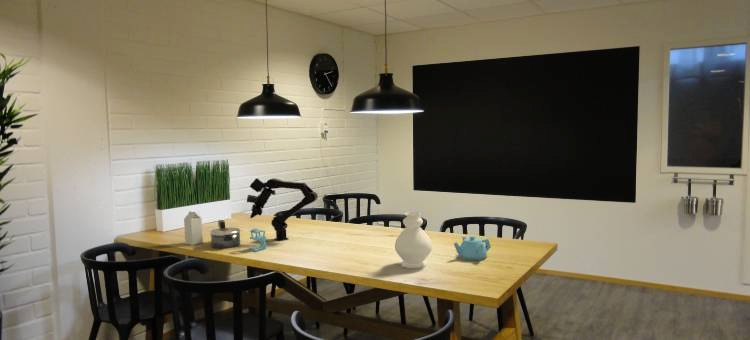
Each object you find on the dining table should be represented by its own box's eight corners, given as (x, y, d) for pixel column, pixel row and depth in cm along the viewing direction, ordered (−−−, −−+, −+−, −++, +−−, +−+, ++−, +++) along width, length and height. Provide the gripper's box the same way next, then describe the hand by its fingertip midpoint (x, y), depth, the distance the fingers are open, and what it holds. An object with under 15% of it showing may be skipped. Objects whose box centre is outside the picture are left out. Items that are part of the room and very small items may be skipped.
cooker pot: (243, 247, 300) (242, 235, 299) (214, 251, 293) (213, 238, 293) (235, 238, 323) (235, 227, 323) (208, 242, 317) (207, 230, 316)
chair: (268, 249, 294) (268, 228, 293) (255, 252, 288) (255, 230, 287) (261, 247, 299) (260, 226, 298) (248, 249, 294) (247, 228, 293)
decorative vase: (440, 265, 252) (439, 213, 250) (411, 271, 242) (410, 217, 240) (416, 257, 267) (415, 208, 264) (387, 264, 256) (386, 213, 254)
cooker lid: (242, 233, 302) (242, 225, 301) (212, 237, 295) (212, 228, 294) (234, 227, 323) (234, 218, 322) (206, 230, 316) (206, 221, 315)
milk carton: (192, 245, 309) (190, 213, 307) (185, 243, 313) (183, 212, 312) (202, 243, 315) (201, 211, 313) (195, 241, 319) (194, 210, 317)
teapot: (482, 262, 254) (482, 240, 253) (453, 259, 261) (452, 238, 260) (491, 255, 268) (491, 234, 267) (463, 252, 275) (462, 232, 274)
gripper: (253, 185, 324) (240, 206, 326) (250, 195, 306) (237, 216, 309) (269, 194, 327) (256, 214, 329) (267, 204, 309) (254, 225, 311)
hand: (250, 217), depth 320 cm, fingers closed
